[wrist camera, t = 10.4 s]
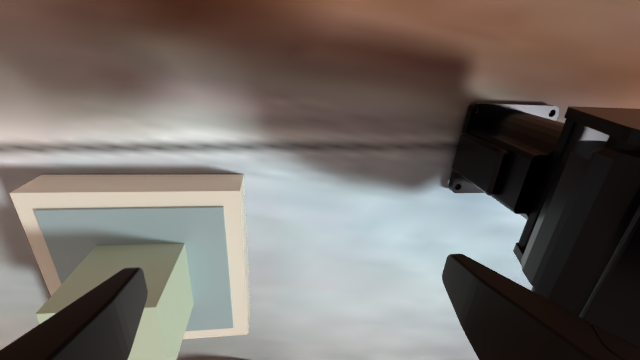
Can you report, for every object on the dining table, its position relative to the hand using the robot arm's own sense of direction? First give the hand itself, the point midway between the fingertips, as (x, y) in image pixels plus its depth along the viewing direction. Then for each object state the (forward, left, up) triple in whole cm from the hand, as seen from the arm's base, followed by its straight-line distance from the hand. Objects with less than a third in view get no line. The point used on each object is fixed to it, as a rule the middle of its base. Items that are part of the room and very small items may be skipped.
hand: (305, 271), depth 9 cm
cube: (+9, +8, -9) cm, 15 cm away
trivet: (+9, +8, -12) cm, 17 cm away
